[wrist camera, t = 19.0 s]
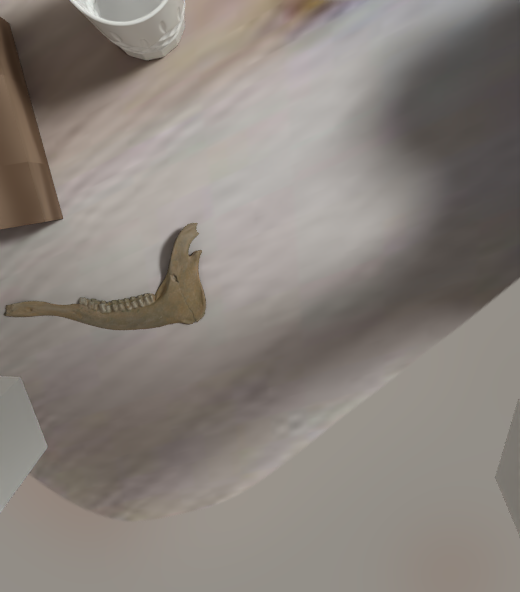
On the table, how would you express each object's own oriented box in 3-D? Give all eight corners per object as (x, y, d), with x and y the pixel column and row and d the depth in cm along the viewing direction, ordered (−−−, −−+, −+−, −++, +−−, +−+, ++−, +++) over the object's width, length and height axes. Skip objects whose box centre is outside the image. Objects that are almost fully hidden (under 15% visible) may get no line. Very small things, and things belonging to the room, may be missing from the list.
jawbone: (235, 300, 43) (236, 307, 42) (55, 379, 45) (48, 390, 43) (195, 218, 40) (194, 222, 39) (3, 305, 42) (-7, 313, 40)
